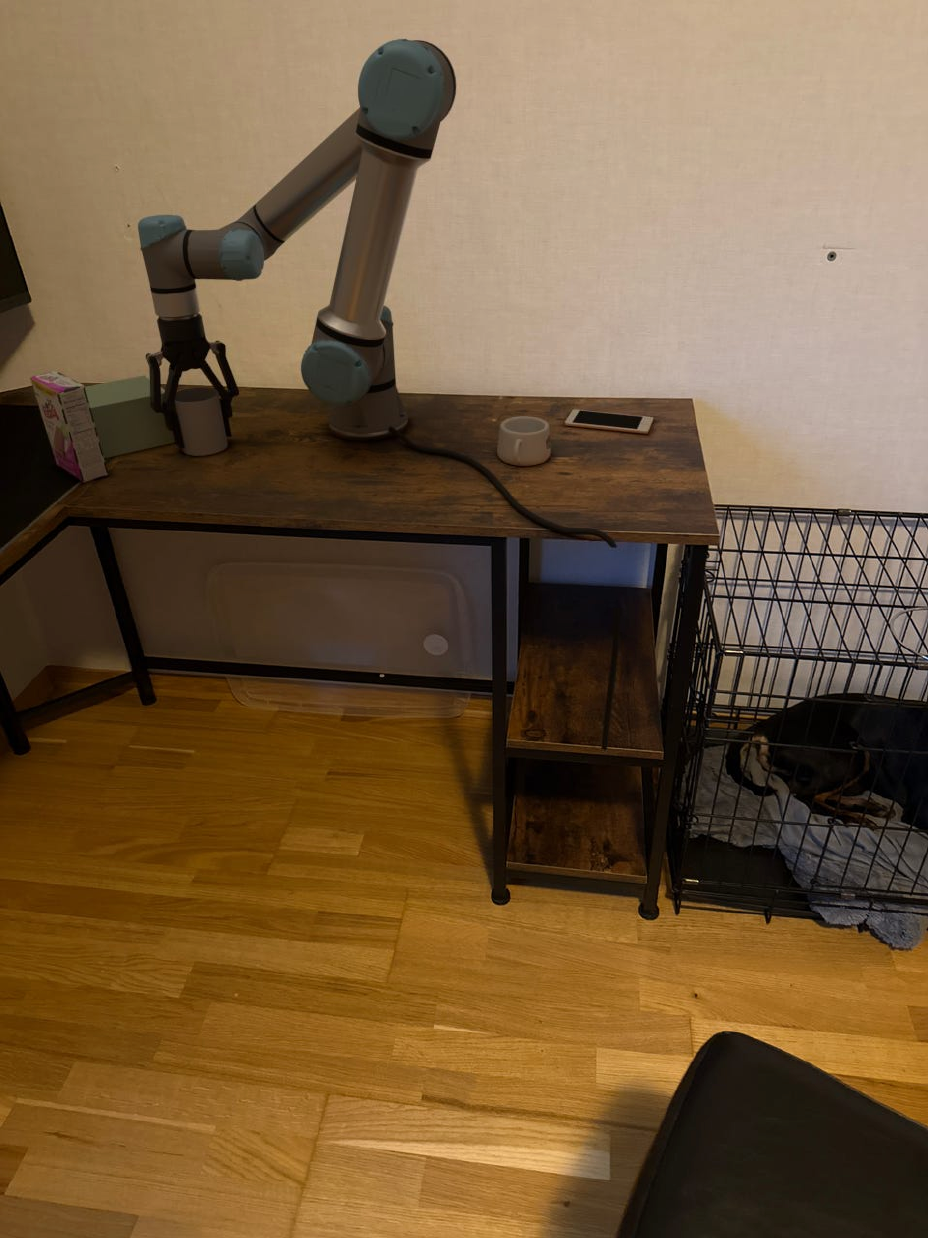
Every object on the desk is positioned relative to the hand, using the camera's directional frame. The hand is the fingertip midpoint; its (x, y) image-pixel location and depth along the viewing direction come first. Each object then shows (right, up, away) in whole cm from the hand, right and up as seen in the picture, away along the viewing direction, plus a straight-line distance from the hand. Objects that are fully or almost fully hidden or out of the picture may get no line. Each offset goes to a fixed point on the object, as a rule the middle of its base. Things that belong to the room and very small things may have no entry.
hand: (203, 440), depth 160 cm
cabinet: (-16, +1, +4) cm, 17 cm away
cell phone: (+77, +5, +8) cm, 77 cm away
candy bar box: (-19, -7, -7) cm, 22 cm away
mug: (+59, -5, -6) cm, 59 cm away
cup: (0, -1, +1) cm, 2 cm away
